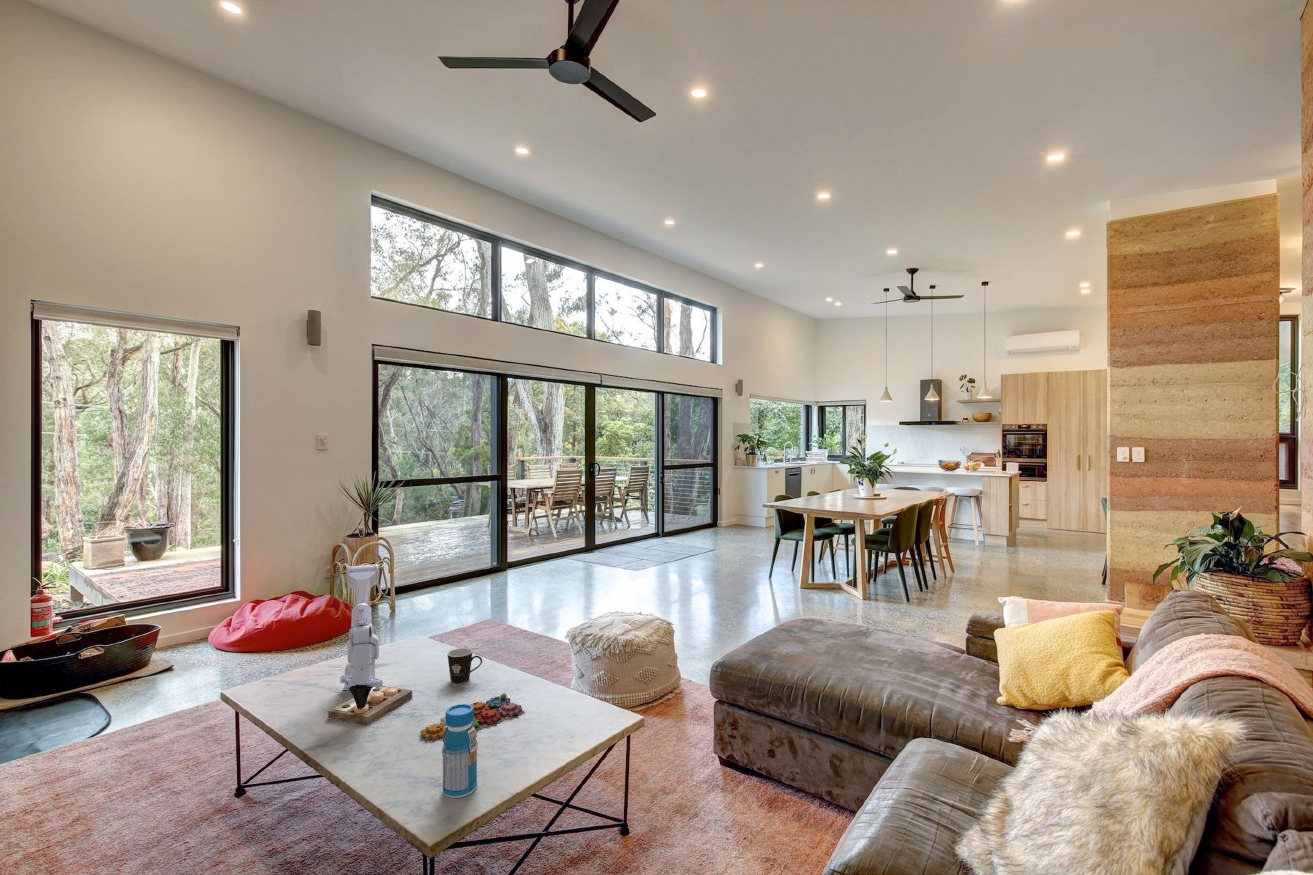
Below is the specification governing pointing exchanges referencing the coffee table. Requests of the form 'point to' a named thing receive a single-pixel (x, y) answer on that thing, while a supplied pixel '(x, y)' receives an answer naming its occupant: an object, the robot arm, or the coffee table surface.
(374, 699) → the button
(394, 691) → the button
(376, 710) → the button board
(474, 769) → the beverage bottle
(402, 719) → the coffee table surface
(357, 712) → the button
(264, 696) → the coffee table surface
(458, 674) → the coffee mug
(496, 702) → the gear puzzle
